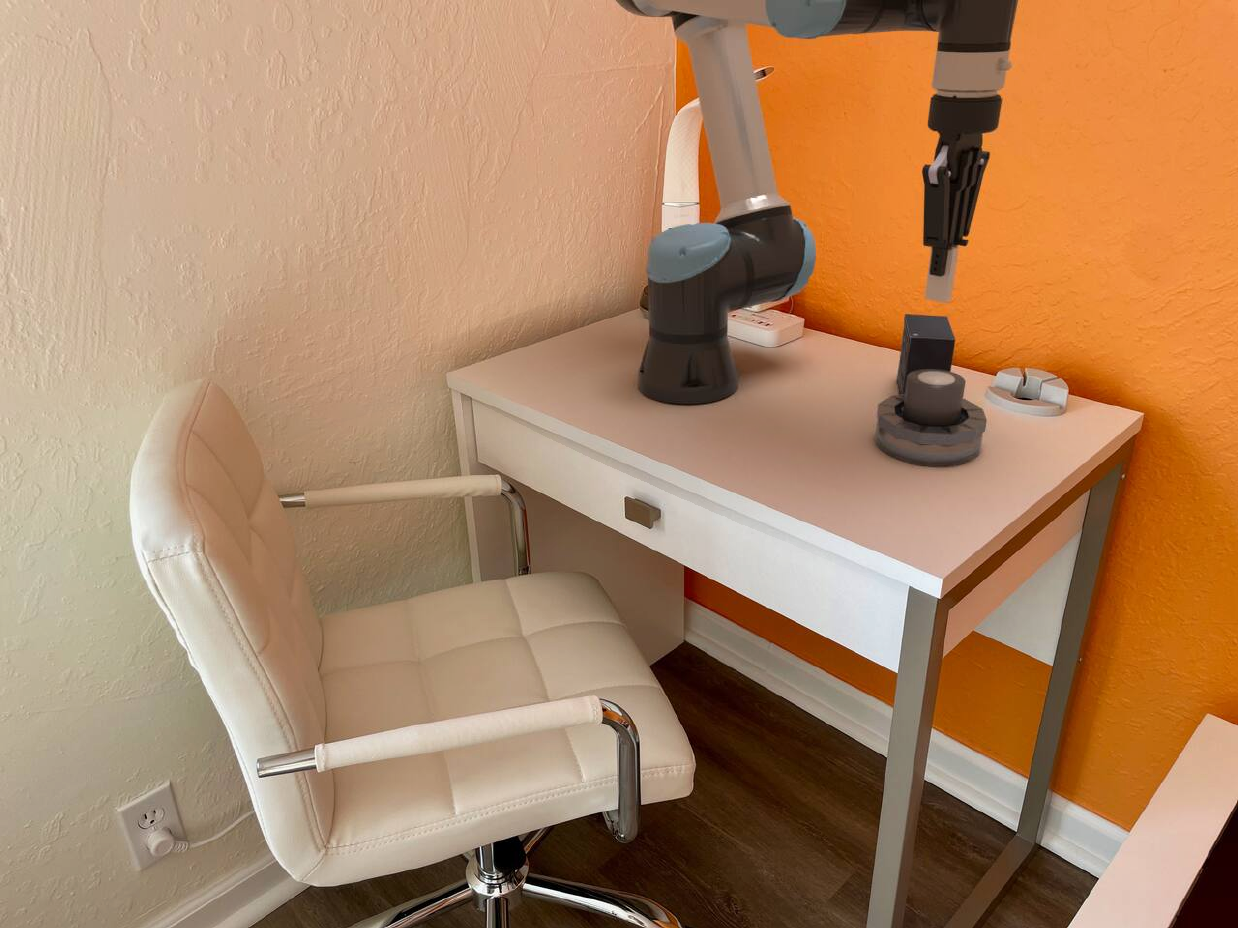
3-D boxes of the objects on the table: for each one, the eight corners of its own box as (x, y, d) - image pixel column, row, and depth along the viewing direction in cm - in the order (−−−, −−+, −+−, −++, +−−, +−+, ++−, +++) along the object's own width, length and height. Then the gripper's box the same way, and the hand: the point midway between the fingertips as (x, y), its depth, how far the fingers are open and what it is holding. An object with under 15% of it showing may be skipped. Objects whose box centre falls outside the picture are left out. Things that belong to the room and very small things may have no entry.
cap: (892, 424, 118) (897, 379, 116) (917, 407, 123) (923, 363, 120) (943, 439, 114) (950, 392, 111) (968, 421, 119) (975, 376, 116)
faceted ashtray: (857, 447, 120) (860, 416, 118) (903, 415, 128) (907, 385, 126) (953, 476, 112) (958, 443, 110) (996, 439, 120) (1001, 408, 118)
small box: (948, 409, 129) (958, 338, 125) (900, 407, 131) (908, 337, 126) (940, 381, 139) (949, 314, 134) (895, 379, 140) (902, 313, 135)
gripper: (975, 101, 95) (943, 319, 106) (1024, 88, 103) (989, 292, 115) (907, 96, 99) (883, 307, 111) (959, 85, 108) (932, 281, 119)
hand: (937, 299), depth 113 cm, fingers closed
